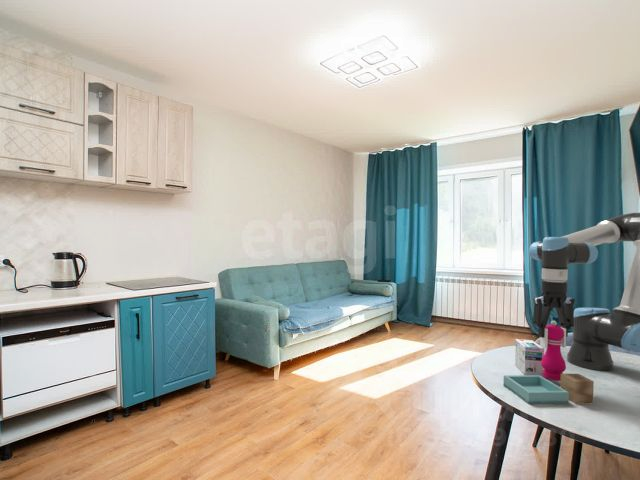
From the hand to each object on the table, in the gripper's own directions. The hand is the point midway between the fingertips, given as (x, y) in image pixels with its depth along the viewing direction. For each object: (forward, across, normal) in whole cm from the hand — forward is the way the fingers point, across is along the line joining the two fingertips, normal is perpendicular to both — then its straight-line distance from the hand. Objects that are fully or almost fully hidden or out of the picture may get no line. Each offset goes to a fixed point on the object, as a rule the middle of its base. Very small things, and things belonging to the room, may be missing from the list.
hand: (552, 346), depth 121 cm
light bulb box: (+14, 0, +12) cm, 18 cm away
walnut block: (+13, 0, -11) cm, 17 cm away
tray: (+13, -12, -8) cm, 19 cm away
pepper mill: (+11, 0, 0) cm, 11 cm away
